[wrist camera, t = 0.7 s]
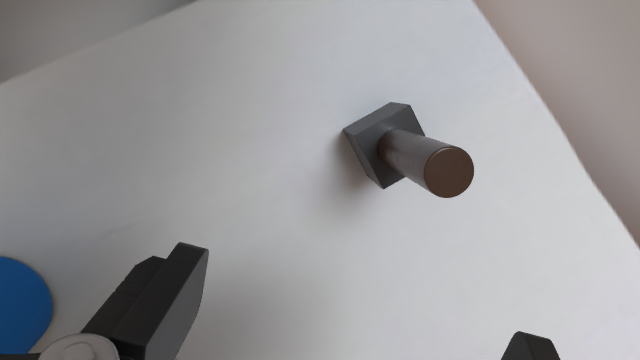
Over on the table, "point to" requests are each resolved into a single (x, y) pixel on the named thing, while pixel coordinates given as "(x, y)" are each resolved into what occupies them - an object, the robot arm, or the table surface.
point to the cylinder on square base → (408, 152)
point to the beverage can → (22, 307)
